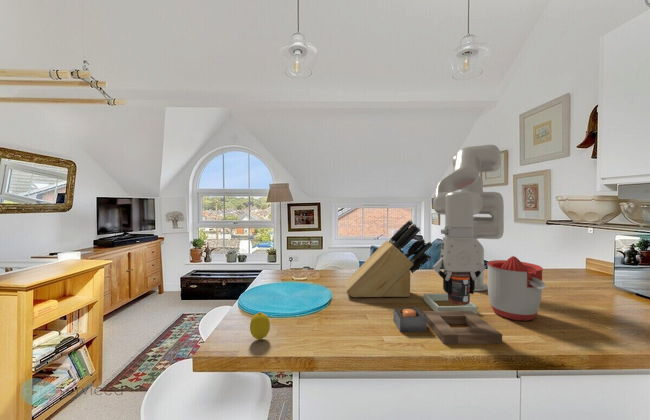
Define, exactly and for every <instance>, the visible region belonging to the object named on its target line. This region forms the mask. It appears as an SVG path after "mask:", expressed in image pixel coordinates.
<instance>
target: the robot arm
mask: <svg viewBox="0 0 650 420" xmlns="http://www.w3.org/2000/svg"><path fill="white" fill-rule="evenodd" d="M501 163H502V154H501V150H500V148H499V147H498V146H497V145H495V144H484V145H475V146H474V145H473V146H467V147H466V146H465V147H462V148H461V149H459V150H458V151H457V153H456V155H454V156H453V158H452V167H453V170H452V172H451V173H449V174H448V175H446V176H444V178H442V179H441V180H440V181H439V182H438V184H437V185H436V188H435V192H434V196H433V202H432V203H433V204H432V205H433V210H434V211H435V213H436V214H438V215H443V216H444V218H445V219H444V220H445V221H444V223H445V224H444V225H445V227H444V228H441V229H440V234H441V235H442V234H443V235H444V236H443V237H442V241H441V245H440V253H439V255H440V256H439V259H438V261H437V262H436V263H435V264H433V266H432V269H433V271H435V273H437V274H438V276H440V277H441V279H442V282H443V283H442V288H443V291H444V292H445V293H448V294H451V281H450V276H451V274H452V272H468V273H469V275H470V295H474V293H475V292H484V291H485V292H486V291H488V284H487V283H485V281H484V280H485V278H484V277H485V276H484V275H485V270H486V266H485V250H484V246H483V244H482V243H481V242H480V241H479V240H478V239H484V240H500V239H501V238H502V237H503V236H504V227H505V226H504V225H505V223H504V222H505V220H504V218H505V215H504V213H505V212H504V210H505V207H504V197H503V195H502V194H501V193H500V192H498V191H484V185H483V184H484V181H483V178H482V176H480V173H491V172H493V173H494V172H498V170H500V167H501V165H502V164H501ZM475 215H490V216H475ZM442 269H443V271H442Z"/></svg>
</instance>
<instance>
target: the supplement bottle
mask: <svg viewBox="0 0 650 420" xmlns="http://www.w3.org/2000/svg"><path fill="white" fill-rule="evenodd" d="M450 281H451V294H448V302H450V303H452V304H454V305H457V306H464V305H467V304H469V302H471V300H470V299H471V293H470V275H469V273H468V272H452V274H451V276H450Z"/></svg>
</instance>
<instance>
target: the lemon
mask: <svg viewBox="0 0 650 420" xmlns="http://www.w3.org/2000/svg"><path fill="white" fill-rule="evenodd" d="M270 324H271V321H270V319H269V317H268V315H267V314H265V313H264V312H261V311H259V312H258V313H256V314H254V315H253V316H252V318H251V320H250V323H249V330H250V334H251V336H252V337H253V338H255V339H257V340H259V341H261V340H263V339H265V338H266V337H267V336H268V334H269V332H270V329H271V325H270Z"/></svg>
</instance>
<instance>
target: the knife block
mask: <svg viewBox="0 0 650 420" xmlns="http://www.w3.org/2000/svg"><path fill="white" fill-rule="evenodd" d="M419 232H421V229H420V227H419V226H417V225H416V224H415V223H414V222H413V221H412V220H411V219H409V220H408V221H407V222H406V223H404V225H402V226H401V227H400V228H399V229H398V230H397V231H396V232H395V233H394V234H393V236H392V237H391V238H390V239H389V240H385V241H384V242H383V243H382V244H381V245H380V246H379V247H378V248H377V249H376V250H375V251H374V252H373V253H372V254H371V256H370V255H369V257H368V259H366V260H365V261H364V262H363V263H362V265H360V267H359V268H357V269H356V270H355V272H354V273H352V274H351V275H350V276H349V277H348V278H347V279H346V281H345V282H344V286H345V291H346V293H347V294H348V295H349V296H350V297H352V298H384V297H385V298H386V297H390V298H392V297H393V298H394V297H396V298H397V297H401V298H402V297H403V298H408V297H410V296H411V274H414V273H415V272H416V271H418V270H419V269H420V268H421V267H423V265H425V264H426V263H427V262H428V261H431V259H432V257H431V255H429V254H428V253H426V252H427V251H428V250H429V249H430V248H431V247H432V246H433V244H432V241H428V242H426V240H425V239H424V238H422V239H420V240H419V239H418V240H416V241H414V242H413V243H412V245H410V247H409V248H408V249H407V251H406V253H405V254H404V253H403V252H402V251H401V250H402V249H404V247H406V245H407V244H409V243H410V242H411V241H412V240H413V239H414V237H416V235H417V234H418V233H419ZM411 256H412V257H411ZM410 257H411V258H410Z"/></svg>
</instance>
